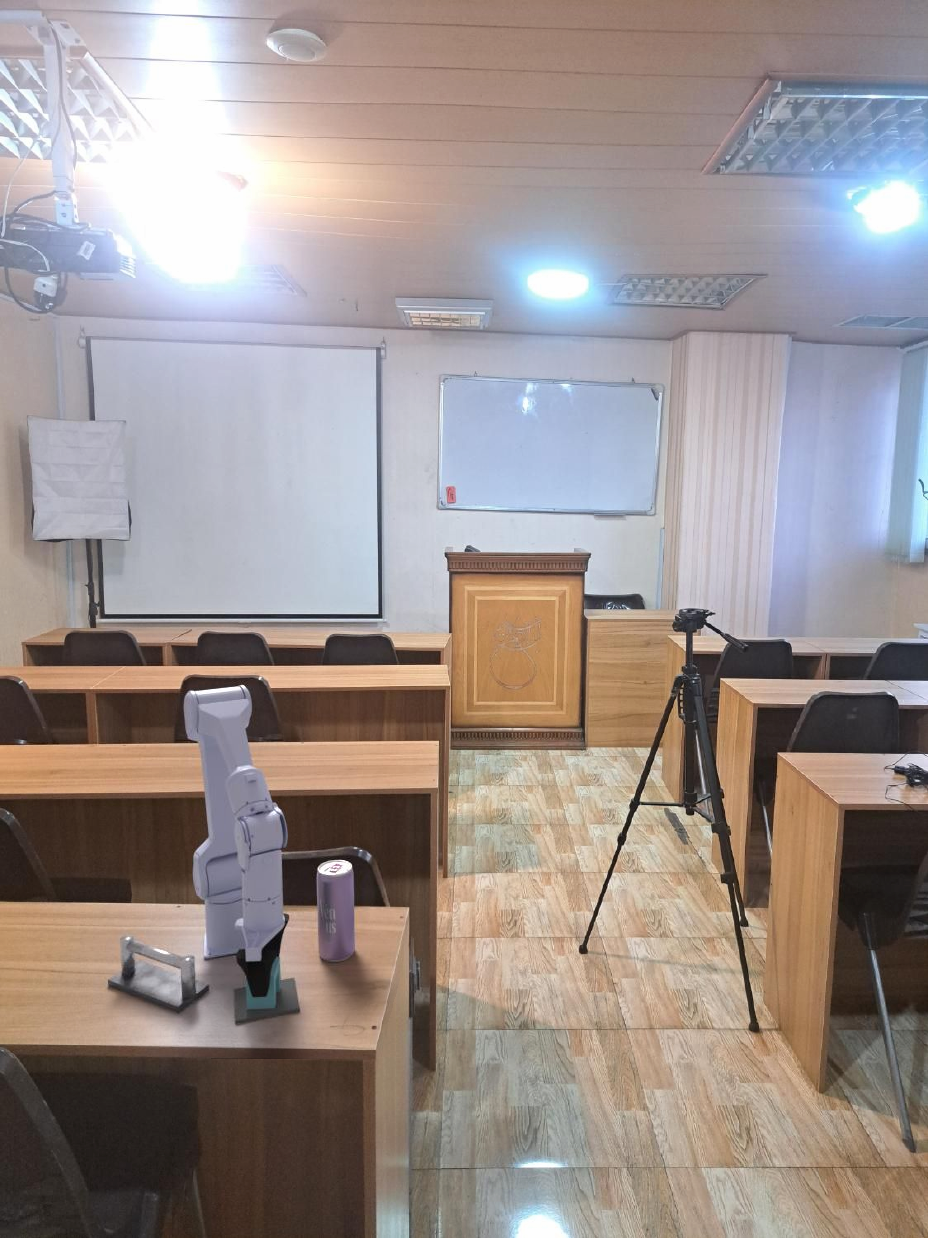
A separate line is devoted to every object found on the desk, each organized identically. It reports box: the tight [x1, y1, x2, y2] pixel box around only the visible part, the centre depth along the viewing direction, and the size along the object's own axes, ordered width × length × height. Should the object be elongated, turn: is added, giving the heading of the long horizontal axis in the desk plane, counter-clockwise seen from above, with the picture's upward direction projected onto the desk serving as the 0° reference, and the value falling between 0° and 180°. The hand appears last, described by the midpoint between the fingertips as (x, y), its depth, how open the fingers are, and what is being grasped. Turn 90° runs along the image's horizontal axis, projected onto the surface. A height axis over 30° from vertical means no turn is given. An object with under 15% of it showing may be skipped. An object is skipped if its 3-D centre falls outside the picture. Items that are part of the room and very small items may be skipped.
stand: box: [107, 934, 210, 1014], centre depth 113 cm, size 6×15×6 cm, turn 64°
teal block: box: [245, 956, 282, 1009], centre depth 110 cm, size 5×4×5 cm
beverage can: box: [316, 859, 356, 963], centre depth 122 cm, size 6×6×15 cm
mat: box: [233, 977, 301, 1025], centre depth 110 cm, size 9×8×1 cm
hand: (265, 980), depth 110 cm, fingers open, 7 cm apart
